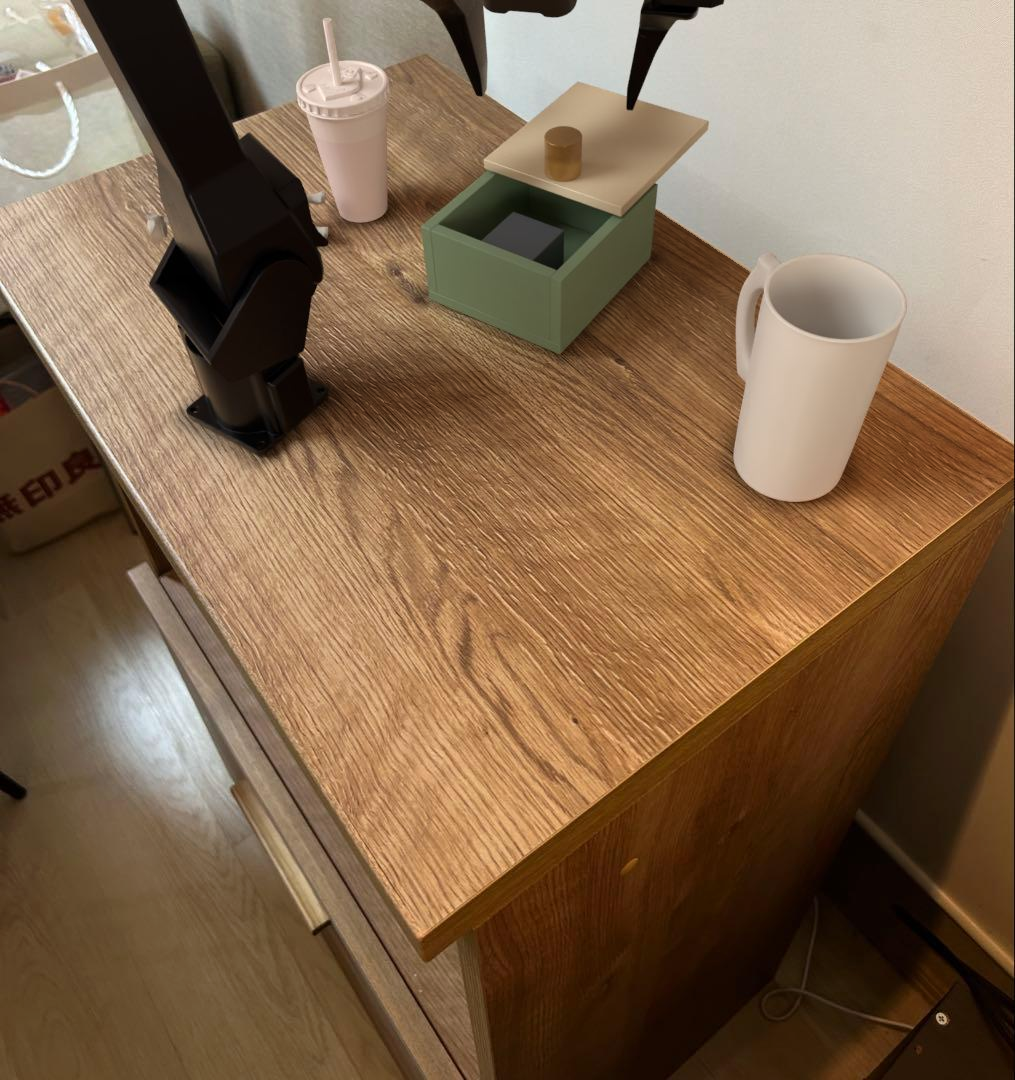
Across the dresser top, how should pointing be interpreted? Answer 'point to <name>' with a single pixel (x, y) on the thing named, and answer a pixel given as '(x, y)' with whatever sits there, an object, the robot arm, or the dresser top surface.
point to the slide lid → (597, 147)
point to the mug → (809, 367)
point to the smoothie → (349, 130)
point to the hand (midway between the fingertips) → (555, 100)
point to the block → (529, 240)
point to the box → (524, 285)
